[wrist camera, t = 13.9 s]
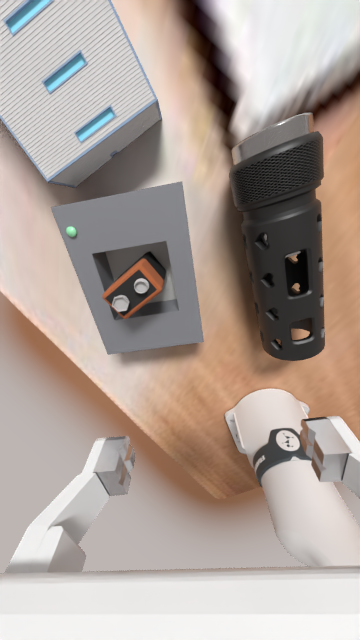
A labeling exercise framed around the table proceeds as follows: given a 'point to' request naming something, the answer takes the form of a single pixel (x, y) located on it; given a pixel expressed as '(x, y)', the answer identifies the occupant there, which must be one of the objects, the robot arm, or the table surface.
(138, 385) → the table surface
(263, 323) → the muzzle brake
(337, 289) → the table surface
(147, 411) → the table surface
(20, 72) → the white slatted block
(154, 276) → the battery
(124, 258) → the dock
